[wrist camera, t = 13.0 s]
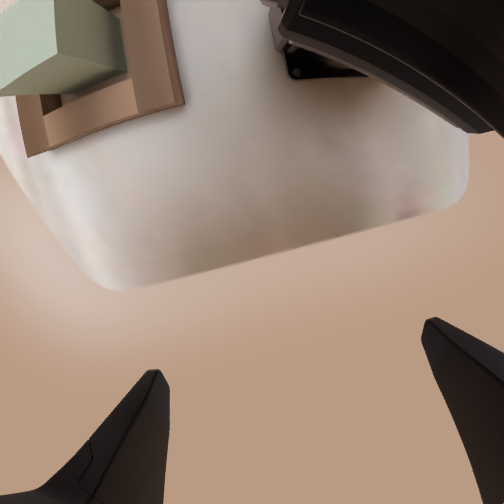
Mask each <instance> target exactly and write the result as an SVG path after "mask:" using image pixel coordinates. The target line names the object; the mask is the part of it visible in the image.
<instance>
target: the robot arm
mask: <svg viewBox="0 0 504 504" xmlns="http://www.w3.org/2000/svg"><path fill="white" fill-rule="evenodd" d="M260 1H261V2H262V4H263V5H265V6H269V7H271V8H270V11H269V19H270V24H271V28H272V33H273V38H274V43H275V48H276V49H277V50H278V51H280V52H282V51H283V56H284V61H285V66H286V72H287V75H288V77H289V78H290V79H291V80H294V81H299V80H311V79H326V78H351V77H372V78H374V79H376V80H378V81H379V82H381V83H383V84H385V85H387V86H389V87H391V88H393V89H395V90H396V91H398V92H400V93H402V94H403V95H405V96H407V97H409V98H410V99H412V100H414V101H415V102H417V103H419V104H420V105H422V106H424V107H425V108H427V109H428V110H430V111H431V112H433V113H435V114H436V115H438V116H439V117H441V118H442V119H444V120H445V121H447V122H449V123H450V124H452V125H453V126H455V127H457V128H461V129H462V130H463V131H465V132H466V133H477V134H480V133H485V132H489V131H494V130H495V131H496V132H497V133H498V134H499V135H500V136H501V137H503V138H504V0H260ZM293 69H297V70H298V71H299V76H294V75H293V74H292V70H293ZM421 341H422V345H423V347H424V350H425V353H426V355H427V358H428V361H429V364H430V366H431V369H432V372H433V375H434V377H435V380H436V382H437V384H438V386H439V388H440V391H441V393H442V395H443V397H444V399H445V402H446V404H447V406H448V408H449V411H450V413H451V415H452V417H453V420H454V422H455V425H456V427H457V429H458V432H459V435H460V437H461V439H462V442H463V444H464V447H465V450H466V452H467V455H468V458H469V461H470V463H471V466H472V469H473V473H474V476H475V479H476V481H477V484H478V488H479V491H480V494H481V498H482V501H483V504H503V503H504V353H503V352H501V351H499V350H497V349H496V348H494V347H492V346H490V345H488V344H486V343H485V342H483V341H481V340H479V339H477V338H475V337H474V336H472V335H470V334H468V333H466V332H464V331H462V330H460V329H459V328H457V327H455V326H453V325H451V324H449V323H447V322H445V321H444V320H441V319H440V318H437V317H433V318H430V319H427V320H426V321H425V324H424V328H423V332H422V337H421ZM169 416H170V389H169V385H168V383H167V381H166V379H165V378H164V376H163V374H162V372H161V371H160V370H158V369H154V370H148V371H146V373H145V374H144V375H143V376H142V377H141V378H140V379H139V381H138V382H137V383H136V384H135V385H134V386H133V388H132V389H131V390H130V391H129V392H128V394H127V395H126V396H125V397H124V398H123V399H122V401H121V402H120V403H119V404H118V405H117V407H116V408H115V409H114V410H113V411H112V412H111V414H110V415H109V416H108V417H107V418H106V419H105V420H104V422H103V423H102V424H101V425H100V426H99V428H98V429H97V430H96V431H95V432H94V433H93V434H92V436H91V437H90V438H89V440H87V441H86V443H85V444H84V445H83V446H82V447H81V448H80V449H79V451H78V452H77V453H76V454H75V455H74V456H73V457H72V458H71V459H70V460H69V461H68V462H67V463H66V464H65V465H64V466H63V467H62V468H61V469H60V470H59V471H58V472H57V473H56V474H54V476H52V477H51V478H50V479H49V480H48V481H47V482H46V483H45V484H43V485H42V486H41V487H39V488H37V489H34V490H31V491H27V492H21V493H15V494H8V495H1V496H0V504H163V498H164V484H165V472H166V461H167V450H168V440H169V430H170V417H169Z"/></svg>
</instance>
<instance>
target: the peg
mask: <svg viewBox="0 0 504 504" xmlns="http://www.w3.org/2000/svg"><path fill="white" fill-rule="evenodd" d="M126 72H128V70H127V65H126V59H125V53H124V47H123V40H122V34H121V27H120V19H119V18H118V17H116V16H115V15H113V14H112V13H110V12H109V11H107V10H106V9H104V8H103V7H101V6H100V5H98V4H97V3H95V2H93V1H92V0H19V1H18V2H16V3H15V4H14V5H12V6H11V7H10V8H8V9H7V10H6V11H4V12H3V13H2V14H1V15H0V97H1V96H14V95H34V94H75V93H77V92H79V91H82V90H84V89H86V88H88V87H91V86H93V85H95V84H98V83H100V82H103V81H105V80H108V79H110V78H113V77H115V76H118V75H121V74H123V73H126Z"/></svg>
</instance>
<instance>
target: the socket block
mask: <svg viewBox="0 0 504 504" xmlns="http://www.w3.org/2000/svg"><path fill="white" fill-rule="evenodd" d="M92 1H93V2H95V3H97V4H98V5H100V6H101V7H103V8H104V9H106V10H107V11H109V12H110V13H112V14H113V15H115V16H116V17H118V18H119V19H120V27H121V34H122V40H123V47H124V53H125V59H126V65H127V70H128V72H126V73H123V74H121V75H118V76H115V77H113V78H110V79H108V80H105V81H103V82H100V83H98V84H95V85H93V86H91V87H88V88H86V89H84V90H82V91H79V92H77V93H75V94H34V95H16V102H17V109H18V115H19V120H20V126H21V131H22V136H23V140H24V145H25V149H26V153H27V157H28V158H29V157H32V156H34V155H37V154H40V153H43V152H46V151H50V150H53V149H55V148H57V147H59V146H61V145H64V144H66V143H68V142H71V141H73V140H76V139H78V138H81V137H83V136H86V135H88V134H91V133H93V132H96V131H99V130H101V129H104V128H107V127H110V126H112V125H115V124H118V123H121V122H124V121H127V120H130V119H133V118H136V117H140V116H143V115H146V114H150V113H153V112H157V111H160V110H164V109H167V108H171V107H175V106H179V105H183V104H185V102H184V97H183V92H182V87H181V82H180V76H179V71H178V66H177V61H176V55H175V50H174V44H173V39H172V33H171V27H170V21H169V15H168V9H167V3H166V0H92Z"/></svg>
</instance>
